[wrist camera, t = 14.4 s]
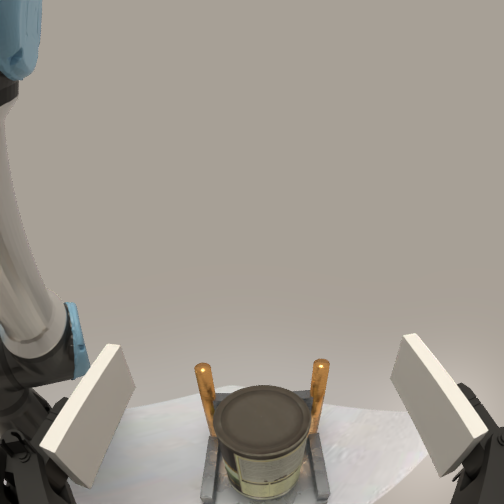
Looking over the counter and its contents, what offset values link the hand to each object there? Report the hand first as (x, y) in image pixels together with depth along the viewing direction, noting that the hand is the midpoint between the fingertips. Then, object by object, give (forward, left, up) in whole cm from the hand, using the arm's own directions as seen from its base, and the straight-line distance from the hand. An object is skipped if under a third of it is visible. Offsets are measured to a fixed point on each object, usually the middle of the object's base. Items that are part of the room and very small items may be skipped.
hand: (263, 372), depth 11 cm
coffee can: (0, +10, -30) cm, 31 cm away
